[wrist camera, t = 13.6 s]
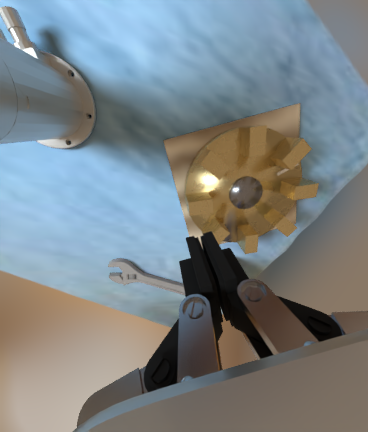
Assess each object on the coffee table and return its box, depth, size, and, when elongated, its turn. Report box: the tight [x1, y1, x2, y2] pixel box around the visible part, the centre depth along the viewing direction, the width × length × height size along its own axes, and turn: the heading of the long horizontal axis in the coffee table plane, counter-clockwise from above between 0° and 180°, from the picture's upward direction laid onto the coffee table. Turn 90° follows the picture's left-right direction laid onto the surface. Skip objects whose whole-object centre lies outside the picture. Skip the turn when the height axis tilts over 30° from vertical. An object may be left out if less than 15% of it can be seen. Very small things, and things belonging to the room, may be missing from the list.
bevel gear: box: [184, 125, 319, 254], centre depth 33 cm, size 22×22×6 cm
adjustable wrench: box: [108, 258, 185, 295], centre depth 46 cm, size 25×6×2 cm, turn 58°
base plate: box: [163, 103, 300, 249], centre depth 37 cm, size 24×24×2 cm
